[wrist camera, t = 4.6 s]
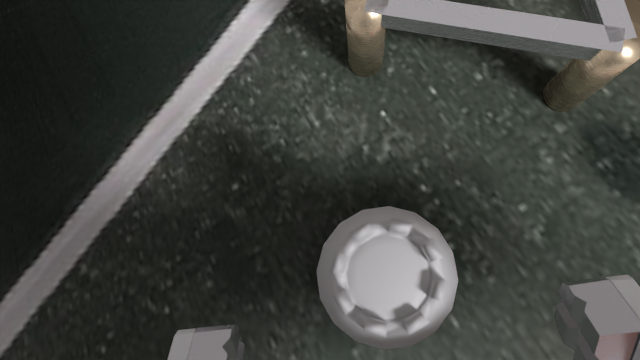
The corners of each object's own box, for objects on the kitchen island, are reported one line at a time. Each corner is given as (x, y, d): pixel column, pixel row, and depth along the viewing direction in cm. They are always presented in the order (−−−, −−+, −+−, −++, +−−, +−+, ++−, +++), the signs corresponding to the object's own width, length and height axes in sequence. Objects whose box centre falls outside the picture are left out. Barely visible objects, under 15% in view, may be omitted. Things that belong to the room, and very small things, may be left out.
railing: (460, 197, 18) (491, 174, 14) (341, 59, 20) (335, -2, 15) (647, 50, 19) (735, -17, 14) (517, -74, 20) (560, -171, 16)
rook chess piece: (303, 236, 18) (259, 212, 11) (412, 199, 18) (448, 146, 10) (341, 351, 18) (323, 418, 10) (455, 312, 17) (531, 347, 10)
